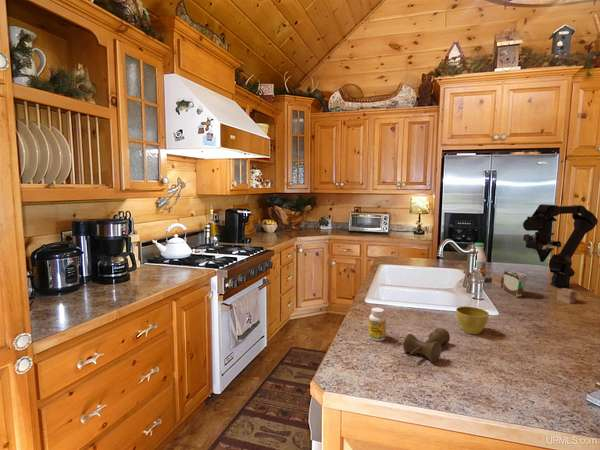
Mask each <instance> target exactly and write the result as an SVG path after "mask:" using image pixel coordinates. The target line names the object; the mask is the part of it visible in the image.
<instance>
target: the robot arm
mask: <svg viewBox="0 0 600 450" xmlns="http://www.w3.org/2000/svg"><path fill="white" fill-rule="evenodd" d="M564 214H567V215H568V214H571V218H572V220H573V230H572V232H571V234H570V235H569V237H568V239H567V240H566V242H565V244H564V245H563V247H562V242H561V241H560V240H552V238H553V237H552V236H554V235H555V233H554V232H553V228H554V227H553V225H554V224H553V223H554V222H557V221H558V220H557V219H556V218H555V217H558V216H559V215H564ZM598 221H599V220H598V218H597V217H596V215H595V213H593V212H591V211H590V210H588V209H587V208H586V207H585V206H584V205H580V204H573V205H572V204H571V205H555V204H543V203H542V204H539V205H538V207H537V208H536V209H535V211H534V213H532V215H531V216H527V218H526V219H524V220H523V223H522V227H523V229H524V230H525V231H526V232H530V231H532V232H534V231H535V232H534V234H532V235H531V234H530V233H527V234H524V235H523V239H522V240H523V241H524V242H525V249H526V248H528V249H533V250H535V251H536V252H537V255H538V257H539V261H540V263H544V262H545V261H546V259H547V258H548V257H549V256H550V254H551V253H552V251H554V248H553V247H556V248H561V250H560V252H559V253H558V254H555V253H553V254H552V256H551V258H550V259H549V262H548V268H549V272H550V273H552V276H551V282H549V284H550V285H551V286H553V287H555V288H558V289H562V288H566V289H572V287H571V286H570V284H571V283H570V282H571V281H570V280H571V277H574V275H575V274H576V273H575V270H574V269H573V267H572V265H573V261H572V257H573V255H574V254H575V252H576V250H577V249H578V247H579V245H580V244H581V242H582V241H583V239H584V237H585V235H586V234H587V233H589V232H590V231H592V230H593V229H595V227H596V226H597V224H598Z"/></svg>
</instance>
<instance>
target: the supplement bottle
mask: <svg viewBox="0 0 600 450" xmlns="http://www.w3.org/2000/svg"><path fill="white" fill-rule="evenodd" d="M370 313H371V314H370V315H368V337H369V339H370V340H373V341H376V342H380V341H384V340H385V339H386V329H387V318H386V316H385V310H384V308H381V307H372V308H371V312H370Z"/></svg>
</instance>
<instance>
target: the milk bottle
mask: <svg viewBox="0 0 600 450" xmlns="http://www.w3.org/2000/svg"><path fill="white" fill-rule="evenodd" d="M474 245H475V247H476V248H477V250H478V253H477V260H476V268H479V269H480V270H481V273H482V275H483V278H484V282H485V280H486V274H487V273H486V272H487V271H486V270H487V257H486V254H485V251H484V248H485V243H483V242H475V243H474V244H473V246H474Z"/></svg>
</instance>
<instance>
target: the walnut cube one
mask: <svg viewBox="0 0 600 450" xmlns="http://www.w3.org/2000/svg"><path fill="white" fill-rule="evenodd" d="M491 286H496V287H499V288H504V275H503V274H499V273H498V274H492V277H491Z"/></svg>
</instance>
